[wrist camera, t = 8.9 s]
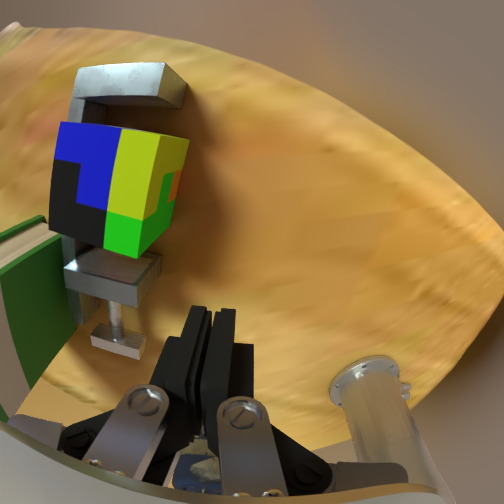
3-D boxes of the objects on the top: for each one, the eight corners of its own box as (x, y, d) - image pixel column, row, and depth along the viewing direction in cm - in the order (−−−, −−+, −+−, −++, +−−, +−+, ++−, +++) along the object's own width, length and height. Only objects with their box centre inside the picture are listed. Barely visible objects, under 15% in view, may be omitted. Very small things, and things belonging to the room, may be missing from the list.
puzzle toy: (112, 125, 26) (60, 121, 17) (190, 139, 27) (160, 135, 18) (97, 206, 29) (48, 229, 20) (170, 225, 30) (137, 258, 21)
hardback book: (40, 214, 30) (-90, 288, 7) (76, 228, 30) (-62, 325, 8) (44, 312, 36) (-35, 404, 13) (76, 329, 36) (1, 436, 14)
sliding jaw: (161, 255, 31) (136, 286, 24) (158, 334, 36) (141, 373, 28) (97, 242, 31) (63, 267, 23) (103, 319, 35) (78, 353, 28)
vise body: (187, 83, 25) (165, 62, 17) (159, 321, 35) (141, 360, 28) (98, 83, 24) (60, 71, 16) (88, 302, 34) (61, 334, 27)
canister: (248, 406, 42) (247, 498, 25) (228, 430, 45) (223, 509, 28) (195, 390, 40) (176, 485, 23) (181, 416, 43) (164, 497, 26)
